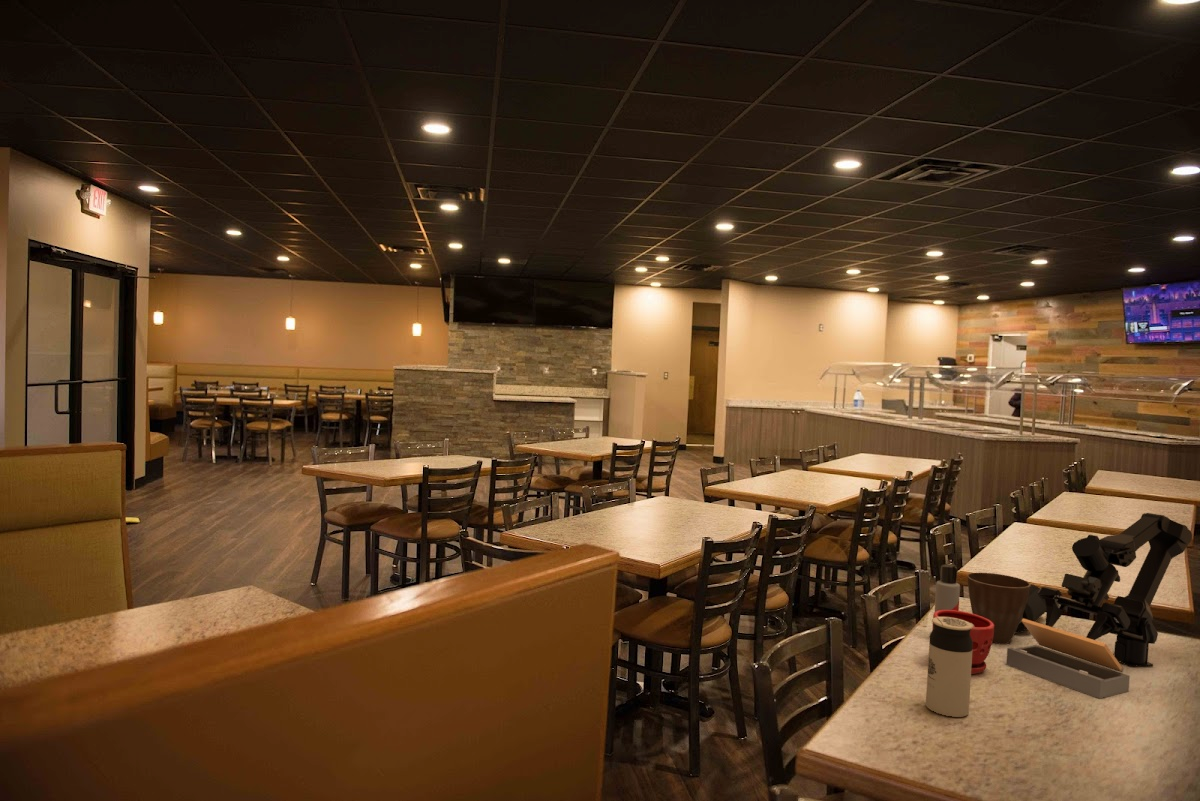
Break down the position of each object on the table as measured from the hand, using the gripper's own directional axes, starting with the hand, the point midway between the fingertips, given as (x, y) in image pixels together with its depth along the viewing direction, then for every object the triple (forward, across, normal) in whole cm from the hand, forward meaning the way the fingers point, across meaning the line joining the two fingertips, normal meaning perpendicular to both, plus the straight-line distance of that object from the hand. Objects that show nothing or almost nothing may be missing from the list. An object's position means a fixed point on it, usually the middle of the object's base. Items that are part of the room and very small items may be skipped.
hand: (1066, 635), depth 180 cm
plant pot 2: (0, -24, +14) cm, 28 cm away
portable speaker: (-14, -31, +29) cm, 45 cm away
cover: (+1, 0, +3) cm, 3 cm away
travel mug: (+37, +2, -24) cm, 44 cm away
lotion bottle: (+10, -29, +4) cm, 31 cm away
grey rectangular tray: (+7, 0, +7) cm, 10 cm away
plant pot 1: (+20, -14, -6) cm, 25 cm away
